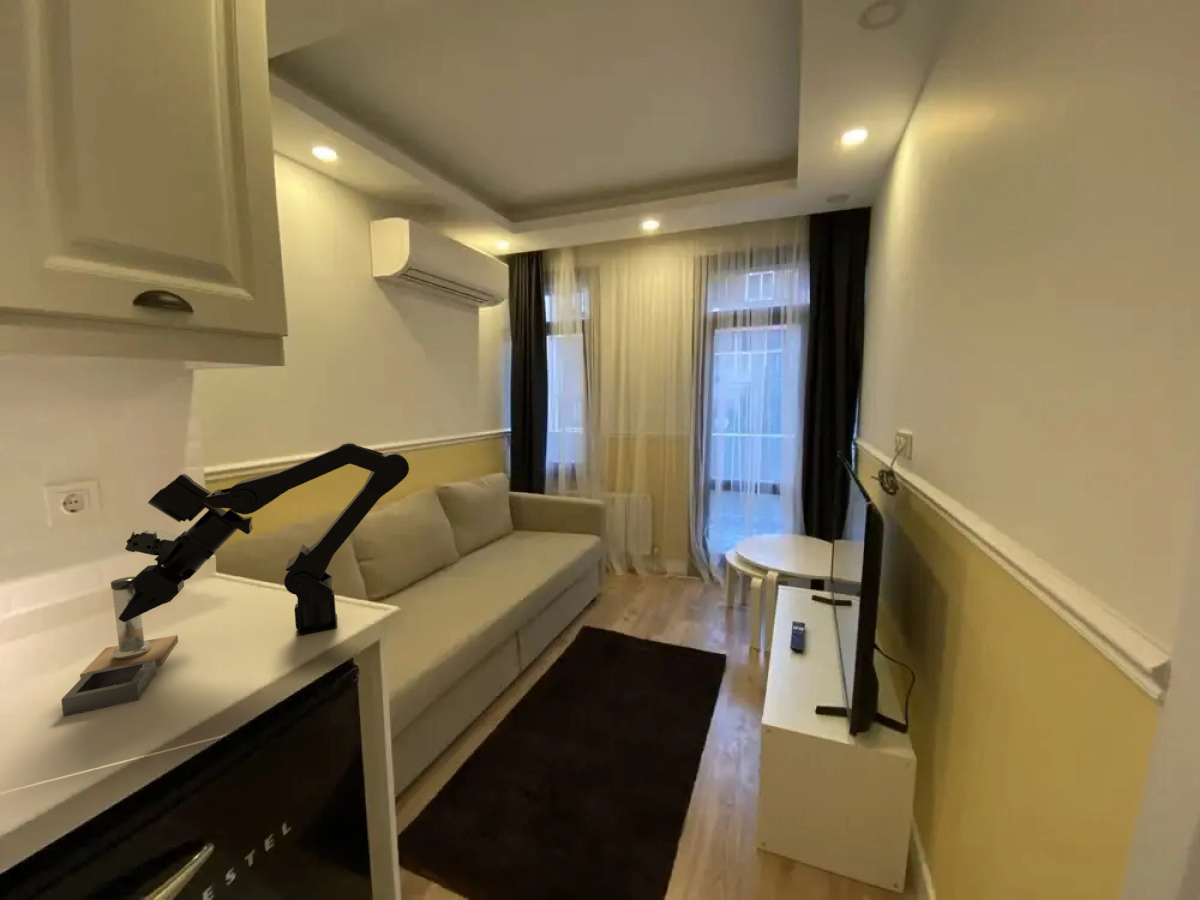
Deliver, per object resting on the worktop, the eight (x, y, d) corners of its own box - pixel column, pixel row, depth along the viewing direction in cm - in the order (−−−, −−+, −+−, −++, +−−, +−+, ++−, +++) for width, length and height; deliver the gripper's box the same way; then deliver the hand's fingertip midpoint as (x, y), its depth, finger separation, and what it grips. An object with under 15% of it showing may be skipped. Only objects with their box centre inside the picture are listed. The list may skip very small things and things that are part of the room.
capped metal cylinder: (158, 645, 90) (151, 574, 88) (135, 659, 85) (127, 584, 84) (130, 647, 89) (122, 575, 88) (105, 660, 85) (96, 585, 83)
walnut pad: (178, 641, 94) (177, 634, 94) (161, 665, 85) (160, 659, 85) (106, 654, 89) (105, 647, 89) (80, 681, 81) (80, 674, 81)
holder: (156, 673, 83) (155, 659, 82) (138, 699, 75) (137, 683, 75) (88, 687, 79) (87, 672, 79) (63, 716, 72) (61, 699, 71)
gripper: (176, 501, 96) (105, 568, 92) (142, 521, 79) (54, 604, 75) (231, 536, 100) (165, 601, 96) (209, 562, 83) (129, 642, 80)
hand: (131, 610), depth 87 cm, fingers open, 9 cm apart
